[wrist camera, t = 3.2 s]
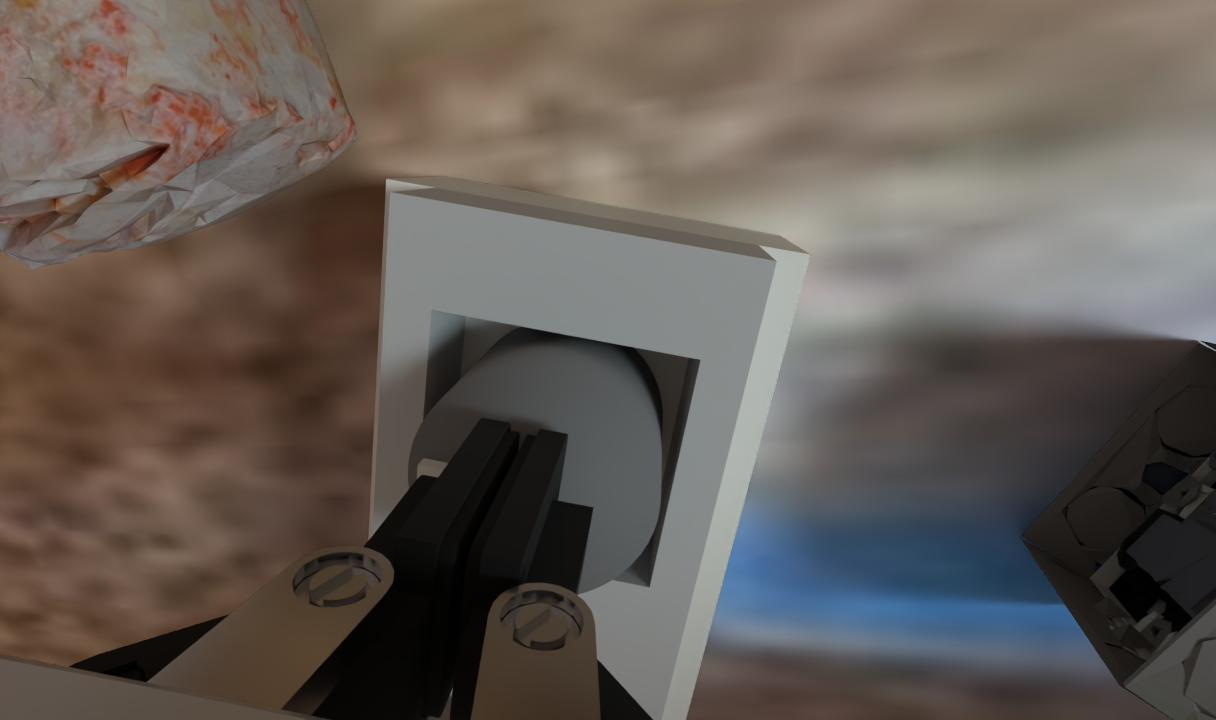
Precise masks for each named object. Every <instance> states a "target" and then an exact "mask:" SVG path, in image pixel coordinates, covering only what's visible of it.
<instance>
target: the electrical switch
mask: <svg viewBox="0 0 1216 720" xmlns="http://www.w3.org/2000/svg"><path fill="white" fill-rule="evenodd" d="M1201 342H1203V343H1205V344H1207V345H1208V346H1210V347H1212V348H1214V349H1215V350H1216V344H1213V343H1208V342H1204V341H1201ZM1208 387H1211V388H1208ZM1213 388H1214V389H1213ZM1158 408H1159V409H1158ZM1156 409H1158V411H1157V412H1156V414H1155V410H1156ZM1160 437H1161V438H1162V440H1163V442H1164V444H1165V445H1168V446H1170V447H1173V448H1175V449H1178V450H1180V451H1183V452H1185V453H1188V454H1190V455H1192V456H1200V455H1204V454H1208V453H1211V454H1210V456H1209V457H1198V458H1190V457H1186V456H1183V455H1179V454H1176V453H1173V452H1172V451H1170V450H1168V449H1167V448H1165V447H1163V446H1162V443H1161V439H1160ZM1156 462H1163V463H1165V464H1168V465H1170V466H1172V467H1175V468H1177V469H1179V470H1182V471H1184V472H1187V473H1189V475H1187V476H1186V477H1185V478H1184V479H1182V480H1181V481H1180V482H1179V483H1177V484H1176V485H1175V486H1174V487H1172V488H1171V489H1170V490H1169V491H1167V492H1166V493H1165V494H1164V495H1160V494H1159V493H1158V492H1157V491H1155V490H1154V489H1153V488H1151V487H1150V486H1149V485H1147V484H1146V483H1145V482H1144V481H1142V480H1141V479H1142V475H1143V471H1144V468H1145V467H1146V466H1148V465H1149V464H1151V463H1156ZM1192 464H1193V465H1192ZM1191 465H1192V466H1191ZM1190 466H1191V467H1190ZM1092 486H1099V487H1097V488H1094V489H1092V490H1089V491H1087V490H1088V489H1090V488H1091V487H1092ZM1112 487H1119V488H1124V489H1126V490H1127V491H1129V492H1131V493H1133V494H1134V495H1135V496H1136V497H1137V498H1138V499H1139V500H1140V501H1141V502H1142V503H1143V504H1144V505H1145V506H1146V509H1145V515H1144V510H1143V508H1142V507H1141V506H1140V505H1138V504H1137V503H1136V502H1135V501H1133V500H1132V499H1131V498H1129V497H1128V496H1127V495H1125V494H1124V493H1123V492H1122V491H1120V490H1118V489H1115V488H1112ZM1086 491H1087V492H1086ZM1152 504H1153V505H1152ZM1066 506H1068V510H1067V513H1066ZM1023 537H1025V538H1026V539H1028V540H1029V541H1031V542H1032V543H1034V544H1035V545H1037V546H1038V547H1040V548H1041V549H1043V550H1044V551H1046V552H1047V553H1046V552H1044V551H1043V550H1041V549H1039V548H1038V547H1036V546H1034V545H1033V544H1031V543H1029V542H1028V541H1026V540H1024V539H1023V538H1021V537H1020V538H1021V540H1022V541H1023V543H1024V544H1025V546H1026V547H1027V549H1028V550H1029V552H1030V553H1031V555H1032V556H1033V558H1034V559H1035V561H1036V562H1037V564H1038V565H1039V567H1040V568H1041V570H1042V571H1043V572H1044V574H1045V575H1046V577H1047V578H1048V580H1049V581H1050V583H1051V584H1052V586H1053V587H1054V589H1055V590H1056V592H1057V593H1058V595H1059V596H1060V598H1061V599H1062V601H1063V602H1064V604H1065V605H1066V607H1067V608H1068V610H1069V611H1070V613H1071V614H1072V616H1073V617H1074V618H1075V620H1076V621H1077V623H1078V624H1079V626H1080V627H1081V629H1082V630H1083V632H1084V633H1085V635H1086V636H1087V638H1088V639H1089V641H1090V642H1091V644H1092V645H1093V647H1094V648H1095V650H1096V651H1097V653H1098V654H1099V656H1100V657H1101V659H1102V660H1103V661H1104V663H1105V664H1106V666H1107V667H1108V669H1109V670H1110V672H1111V673H1112V675H1113V676H1114V678H1115V679H1116V681H1117V682H1118V684H1119V685H1120V686H1121V687H1123V688H1124V689H1126V690H1128V691H1129V692H1131V693H1132V694H1134V695H1135V696H1137V697H1138V698H1140V699H1142V700H1143V701H1145V702H1146V703H1148V704H1149V705H1151V706H1152V707H1154V708H1156V709H1157V710H1159V711H1160V712H1162V713H1163V714H1165V715H1167V716H1168V717H1170V718H1171V719H1172V720H1216V351H1214V350H1212V349H1210V348H1208V347H1206V346H1204V345H1202V344H1200V343H1199V344H1198V345H1197V346H1196V347H1195V348H1194V349H1193V350H1192V351H1191V352H1190V353H1189V354H1188V355H1187V356H1186V357H1185V358H1184V359H1183V361H1182V362H1181V363H1180V364H1179V365H1178V366H1177V367H1176V368H1175V369H1174V370H1173V371H1172V373H1171V374H1170V375H1169V376H1168V377H1167V378H1166V379H1165V380H1164V381H1163V382H1162V383H1161V384H1160V386H1159V387H1158V388H1157V389H1156V390H1155V391H1154V392H1153V393H1152V394H1151V395H1150V396H1149V398H1148V399H1147V400H1146V401H1145V402H1144V403H1143V404H1142V405H1141V406H1140V407H1139V408H1138V409H1137V411H1136V412H1135V413H1134V414H1133V415H1132V416H1131V417H1130V418H1129V419H1128V420H1127V421H1126V423H1125V424H1124V425H1123V426H1122V427H1121V428H1120V429H1119V430H1118V431H1117V432H1116V433H1115V434H1114V436H1113V437H1112V438H1111V439H1110V440H1109V441H1108V442H1107V443H1106V444H1105V445H1104V446H1103V448H1102V449H1101V450H1100V451H1099V452H1098V453H1097V454H1096V455H1095V456H1094V457H1093V458H1092V460H1091V461H1090V462H1089V463H1088V464H1087V465H1086V466H1085V467H1084V468H1083V469H1082V470H1081V471H1080V473H1079V474H1078V475H1077V476H1076V477H1075V478H1074V479H1073V480H1072V481H1071V482H1070V483H1069V485H1068V486H1067V487H1066V488H1065V489H1064V490H1063V491H1062V492H1061V493H1060V494H1059V495H1058V496H1057V498H1056V499H1055V500H1054V501H1053V502H1052V503H1051V504H1050V505H1049V506H1048V507H1047V508H1046V510H1045V511H1044V512H1043V513H1042V514H1041V515H1040V516H1039V517H1038V518H1037V519H1036V520H1035V521H1034V523H1033V524H1032V525H1031V526H1030V527H1029V528H1028V529H1027V530H1026V531H1025V533H1024V534H1023ZM1077 540H1078V541H1080V542H1082V543H1083V544H1085V545H1086V546H1084V545H1080V544H1079V542H1078V541H1077ZM1117 549H1118V550H1117ZM1113 550H1117V551H1113ZM1048 553H1049V554H1050V555H1049V554H1048ZM1051 555H1052V556H1051ZM1096 562H1098V563H1101V564H1103V565H1102V566H1101V567H1100V568H1099V569H1098V570H1096V569H1095V563H1096ZM1054 575H1055V576H1054Z"/></svg>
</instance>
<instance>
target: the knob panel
mask: <svg viewBox="0 0 1216 720" xmlns="http://www.w3.org/2000/svg"><path fill="white" fill-rule="evenodd" d="M810 255H811V254H809V253H807V252H806V251H804V250H803V249H801V248H799V247H798V246H796V245H794V244H793V243H791V242H790V241H788V240H786V239H785V238H783V237H782V236H779V235H773V234H768V233H762V232H756V231H751V230H745V229H739V228H734V227H728V226H722V225H717V224H711V223H705V222H700V221H694V220H689V219H683V218H677V217H672V216H666V215H660V214H655V213H649V212H643V211H638V210H632V209H627V208H621V207H615V206H610V205H604V204H598V203H593V202H587V201H581V200H576V199H570V198H565V197H559V196H553V195H548V194H542V193H536V192H531V191H525V190H519V189H514V188H508V187H502V186H497V185H491V184H486V183H480V182H474V181H469V180H463V179H457V178H452V177H446V176H441V177H418V178H396V179H386V194H385V214H384V234H383V255H382V275H381V295H380V315H379V335H378V355H377V375H376V395H375V415H374V435H373V456H372V476H371V496H370V516H369V536H368V541H369V539H370V538H371V537H372V536H373V534H374V533H375V532H376V530H377V529H378V528H379V527H380V525H381V524H382V523H383V522H384V520H385V519H386V518H387V516H388V515H389V514H390V513H391V511H392V510H393V509H394V508H395V506H396V505H397V504H398V502H399V501H400V500H401V499H402V497H403V496H404V495H405V494H406V492H407V491H408V490H409V485H408V463H409V456H410V450H411V447H412V444H413V440H414V437H415V435H416V433H417V431H418V429H419V427H420V425H421V423H422V422H423V420H424V419H425V417H426V416H427V414H428V413H429V411H430V410H431V409H432V408H433V407H434V406H435V405H436V404H437V403H438V401H439V400H440V399H441V398H442V397H443V396H444V395H445V394H446V393H447V392H448V391H449V390H450V389H451V388H452V387H453V386H454V385H455V384H456V383H457V382H458V381H459V380H460V379H461V378H462V377H463V376H464V375H465V374H466V373H467V372H468V371H469V370H470V369H471V368H472V367H473V366H474V365H475V364H476V363H477V362H478V361H479V360H480V358H481V357H482V356H483V355H484V354H485V353H486V352H487V351H488V350H489V349H490V348H491V347H492V346H493V345H494V344H495V343H496V342H497V341H499V340H500V339H501V338H502V337H504V336H505V335H506V334H508V333H509V332H511V331H513V330H514V329H516V328H518V327H521V326H522V327H527V328H532V329H538V330H543V331H548V332H554V333H559V334H565V335H570V336H575V337H581V338H586V339H591V340H597V341H602V342H608V343H613V344H618V345H624V346H629V347H633V348H634V349H636V350H637V351H638V353H639V354H640V355H641V356H642V357H643V359H644V360H645V361H646V363H647V364H648V366H649V368H650V369H651V371H652V373H653V375H654V377H655V379H656V382H657V384H658V387H659V391H660V394H661V400H662V407H663V429H662V474H661V504H660V511H659V517H658V520H657V523H656V527H655V530H654V532H653V534H652V536H651V538H650V541H649V543H648V544H647V546H646V547H645V549H644V550H643V552H642V553H641V555H640V556H639V557H638V558H637V559H636V560H635V562H634V563H633V564H632V565H631V566H630V567H629V568H628V569H626V570H625V571H624V572H623V573H622V574H621V575H619V576H618V577H616V578H615V579H613V580H611V581H610V582H608V583H607V584H605V585H602V586H600V587H598V588H596V589H594V590H591V591H588V592H585V593H582V594H579V595H578V596H579V597H580V598H582V599H583V600H584V601H585V602H586V604H587V605H588V606H589V608H590V609H591V611H592V613H593V617H594V621H595V631H596V648H597V659H598V660H599V661H600V662H601V663H602V664H603V666H604V667H605V668H606V669H607V670H608V671H609V672H610V673H611V674H612V675H613V676H614V678H615V679H616V680H617V681H618V682H619V683H620V684H621V685H622V686H623V687H624V688H625V689H626V691H627V692H628V693H629V694H630V695H631V696H632V697H633V698H634V699H635V700H636V701H637V703H638V704H639V705H640V706H641V707H642V708H643V709H644V710H645V711H646V712H647V713H648V715H649V716H650V717H651V718H652V719H653V720H686V718H687V714H688V710H689V706H690V703H691V699H692V695H693V691H694V688H695V684H696V680H697V677H698V673H699V669H700V665H701V662H702V658H703V654H704V650H705V647H706V643H707V639H708V636H709V632H710V628H711V624H712V621H713V617H714V613H715V609H716V606H717V602H718V598H719V595H720V591H721V587H722V583H723V580H724V576H725V572H726V568H727V565H728V561H729V557H730V554H731V550H732V546H733V542H734V539H735V535H736V531H737V527H738V524H739V520H740V516H741V513H742V509H743V505H744V501H745V498H746V494H747V490H748V486H749V483H750V479H751V475H752V472H753V468H754V464H755V460H756V457H757V453H758V449H759V445H760V442H761V438H762V434H763V431H764V427H765V423H766V419H767V416H768V412H769V408H770V404H771V401H772V397H773V393H774V390H775V386H776V382H777V378H778V375H779V371H780V367H781V363H782V360H783V356H784V352H785V349H786V345H787V341H788V337H789V334H790V330H791V326H792V322H793V319H794V315H795V311H796V308H797V304H798V300H799V296H800V293H801V289H802V285H803V281H804V278H805V274H806V270H807V267H808V263H809V259H810ZM452 690H453V689H452ZM451 699H452V691H451V693H450V696H449V698H448V701H447V703H446V706H445V708H444V711H443V713H442V715H441V717H440V718H436V717H431V716H428V719H427V720H449V719H450V708H451Z"/></svg>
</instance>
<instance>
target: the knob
mask: <svg viewBox="0 0 1216 720" xmlns="http://www.w3.org/2000/svg"><path fill="white" fill-rule="evenodd" d="M481 418H486V419H492V420H497V421H502V422H507V423H510V424H511V431H515V432H519V433H520V439H519V447H518V451H519V449H520V447H521V445H522V443H523V441H524V439H525V437H526V435H527V434H531V435H537V433H538V431H539V429H545V430H550V431H556V432H561V433H566V434H568V441H567V448H566V454H565V460H564V467H563V473H562V479H561V486H560V492H559V498H558V501H563V502H569V503H574V504H579V505H584V506H589V507H594V508H593V514H592V520H591V525H590V531H589V536H588V542H587V547H586V553H585V558H584V564H583V569H582V574H581V579H580V585H579V590H578V595H579V594H582V593H585V592H588V591H591V590H594V589H596V588H598V587H600V586H602V585H605V584H607V583H608V582H610V581H611V580H613V579H615V578H616V577H618V576H619V575H621V574H622V573H623V572H624V571H625V570H626V569H628V568H629V567H630V566H631V565H632V564H633V563H634V562H635V560H636V559H637V558H638V557H639V556H640V555H641V553H642V552H643V550H644V549H645V547H646V546H647V544H648V543H649V541H650V538H651V536H652V534H653V532H654V530H655V527H656V523H657V520H658V517H659V511H660V504H661V474H662V429H663V407H662V400H661V394H660V391H659V387H658V384H657V382H656V379H655V377H654V375H653V373H652V371H651V369H650V368H649V366H648V364H647V363H646V361H645V360H644V359H643V357H642V356H641V355H640V354H639V353H638V351H637V350H636V349H634V348H633V347H629V346H624V345H618V344H613V343H608V342H602V341H597V340H591V339H586V338H581V337H575V336H570V335H565V334H559V333H554V332H548V331H543V330H538V329H532V328H527V327H522V326H521V327H518V328H516V329H514V330H513V331H511V332H509V333H508V334H506V335H505V336H504V337H502V338H501V339H500V340H499V341H497V342H496V343H495V344H494V345H493V346H492V347H491V348H490V349H489V350H488V351H487V352H486V353H485V354H484V355H483V356H482V357H481V358H480V360H479V361H478V362H477V363H476V364H475V365H474V366H473V367H472V368H471V369H470V370H469V371H468V372H467V373H466V374H465V375H464V376H463V377H462V378H461V379H460V380H459V381H458V382H457V383H456V384H455V385H454V386H453V387H452V388H451V389H450V390H449V391H448V392H447V393H446V394H445V395H444V396H443V397H442V398H441V399H440V400H439V401H438V403H437V404H436V405H435V406H434V407H433V408H432V409H431V410H430V411H429V413H428V414H427V416H426V417H425V419H424V420H423V422H422V423H421V425H420V427H419V429H418V431H417V433H416V435H415V437H414V440H413V444H412V447H411V450H410V456H409V463H408V485H409V488H410V487H411V486H412V485H413V483H414V482H415V481H416V480H417V478H418V477H420V476H421V475H428V476H433V477H439V475H440V474H441V473H442V471H443V470H444V469H445V467H446V466H447V464H448V463H449V462H450V460H451V459H452V457H453V456H454V455H455V453H456V452H457V450H458V449H459V448H460V446H461V445H462V444H463V442H464V441H465V439H466V438H467V437H468V435H469V434H470V432H471V431H472V430H473V428H474V427H475V426H476V424H477V423H478V421H479V420H480V419H481Z"/></svg>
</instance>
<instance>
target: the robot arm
mask: <svg viewBox="0 0 1216 720" xmlns="http://www.w3.org/2000/svg"><path fill="white" fill-rule="evenodd" d="M519 439H520V433H519V432H515V431H511V424H510V423H507V422H502V421H497V420H492V419H486V418H481V419H480V420H479V421H478V423H477V424H476V426H475V427H474V428H473V430H472V431H471V432H470V434H469V435H468V437H467V438H466V439H465V441H464V442H463V444H462V445H461V446H460V448H459V449H458V450H457V452H456V453H455V455H454V456H453V457H452V459H451V460H450V462H449V463H448V464H447V466H446V467H445V469H444V470H443V471H442V473H441V474H440V475H439V477H433V476H428V475H421V476H420V477H418V478H417V480H416V481H415V482H414V483H413V485H412V486H411V487H410V488H409V490H408V491H407V492H406V494H405V495H404V496H403V497H402V499H401V500H400V501H399V502H398V504H397V505H396V506H395V508H394V509H393V510H392V511H391V513H390V514H389V515H388V516H387V518H386V519H385V520H384V522H383V523H382V524H381V525H380V527H379V528H378V529H377V530H376V532H375V533H374V534H373V536H372V537H371V538H370V539H369V541H368V542H367V543H366V544H365V546H364V547H359V546H335V547H329V548H324V549H320V550H317V551H315V552H312V553H309V554H307V555H305V556H303V557H302V558H300V559H298V560H297V561H295V562H294V563H292V564H291V565H290V566H288V567H287V568H286V569H285V570H284V571H282V572H281V573H280V574H279V575H277V576H276V577H275V578H274V579H273V580H271V581H270V582H269V583H268V584H266V585H265V586H264V587H263V588H261V589H260V590H259V591H258V592H257V593H255V594H254V595H253V596H252V597H250V598H249V599H248V600H247V601H246V602H244V603H243V604H242V605H241V606H239V607H238V608H237V609H236V610H235V611H233V612H232V613H231V614H229V615H226V616H223V617H219V618H216V619H213V620H210V621H206V622H203V623H200V624H196V625H193V626H190V627H187V628H183V629H180V630H177V631H174V632H170V633H167V634H164V635H160V636H157V637H154V638H151V639H147V640H144V641H141V642H138V643H134V644H131V645H128V646H125V647H121V648H118V649H115V650H111V651H108V652H105V653H102V654H98V655H96V656H93V657H91V658H88V659H86V660H83V661H80V662H78V663H75V664H73V665H71V666H70V667H66V666H61V665H56V664H51V663H46V662H41V661H36V660H31V659H26V658H21V657H15V656H10V655H5V654H0V720H427V719H428V716H431V717H436V718H440V717H441V715H442V713H443V711H444V708H445V706H446V703H447V701H448V698H449V696H450V693H451V691H452V699H451V708H450V720H653V719H652V718H651V717H650V716H649V715H648V713H647V712H646V711H645V710H644V709H643V708H642V707H641V706H640V705H639V704H638V703H637V701H636V700H635V699H634V698H633V697H632V696H631V695H630V694H629V693H628V692H627V691H626V689H625V688H624V687H623V686H622V685H621V684H620V683H619V682H618V681H617V680H616V679H615V678H614V676H613V675H612V674H611V673H610V672H609V671H608V670H607V669H606V668H605V667H604V666H603V664H602V663H601V662H600V661H599V660H598V659H597V648H596V631H595V621H594V617H593V613H592V611H591V609H590V608H589V606H588V605H587V604H586V602H585V601H584V600H583V599H582V598H580V597H579V596H578V590H579V585H580V579H581V574H582V569H583V564H584V558H585V553H586V547H587V542H588V536H589V531H590V525H591V520H592V514H593V508H594V507H589V506H584V505H579V504H574V503H569V502H563V501H558V498H559V492H560V486H561V479H562V473H563V467H564V460H565V454H566V448H567V441H568V434H566V433H561V432H556V431H550V430H545V429H539V431H538V433H537V435H531V434H527V435H526V437H525V439H524V441H523V443H522V445H521V447H520V449H519V451H518V447H519ZM452 689H453V690H452Z"/></svg>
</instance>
